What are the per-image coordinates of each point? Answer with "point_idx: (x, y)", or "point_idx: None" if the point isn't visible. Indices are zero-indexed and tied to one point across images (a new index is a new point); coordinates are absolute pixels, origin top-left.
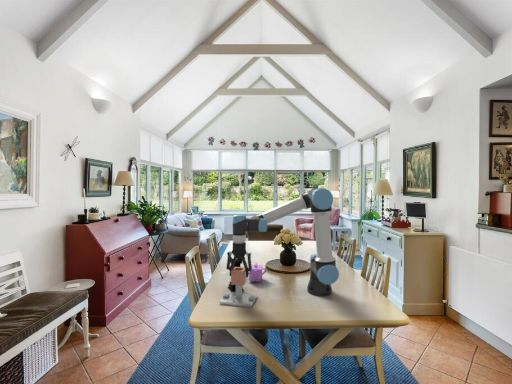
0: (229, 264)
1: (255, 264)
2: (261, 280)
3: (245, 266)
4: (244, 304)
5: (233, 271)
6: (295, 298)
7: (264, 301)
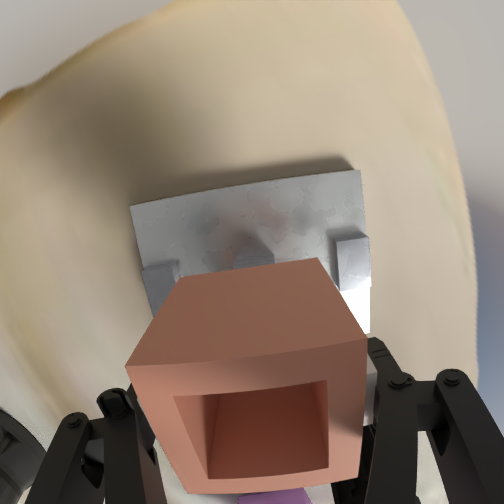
0: (446, 450)
1: None
2: (241, 498)
3: (116, 465)
4: (176, 197)
5: (319, 336)
6: (26, 378)
7: (109, 312)
